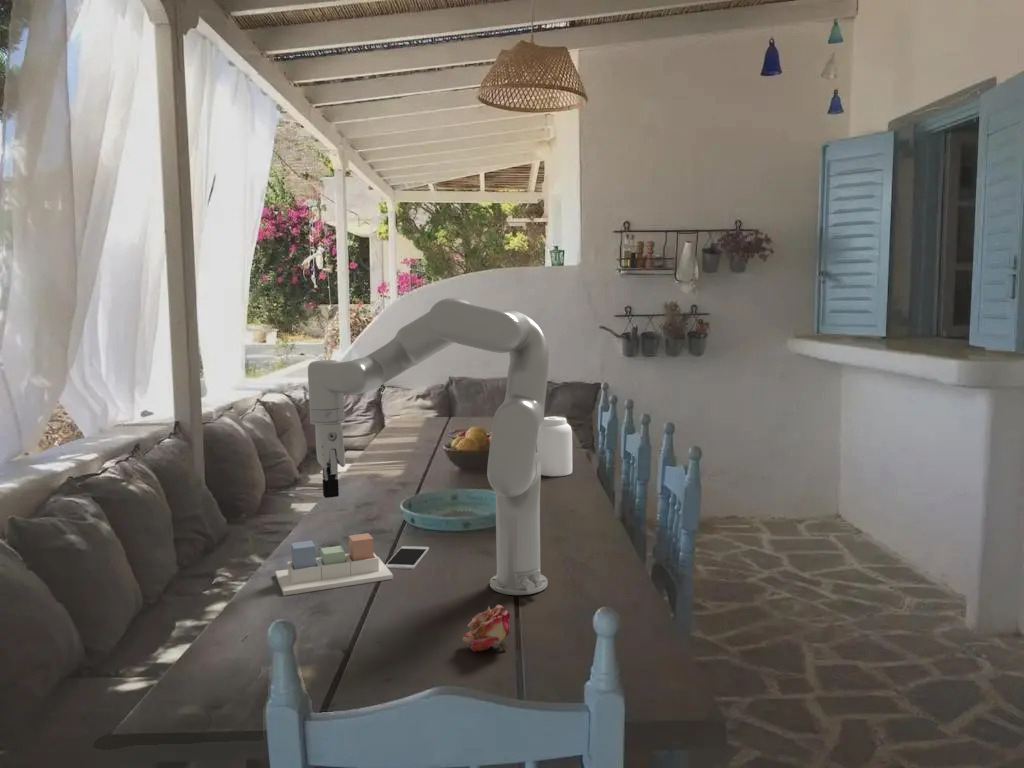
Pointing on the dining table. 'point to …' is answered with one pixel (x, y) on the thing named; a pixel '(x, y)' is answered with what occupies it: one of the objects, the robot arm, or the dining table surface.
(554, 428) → the white jar
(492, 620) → the flower
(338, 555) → the sage button
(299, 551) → the slate button
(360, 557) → the terracotta button
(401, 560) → the smartphone
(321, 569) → the board
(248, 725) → the dining table surface
